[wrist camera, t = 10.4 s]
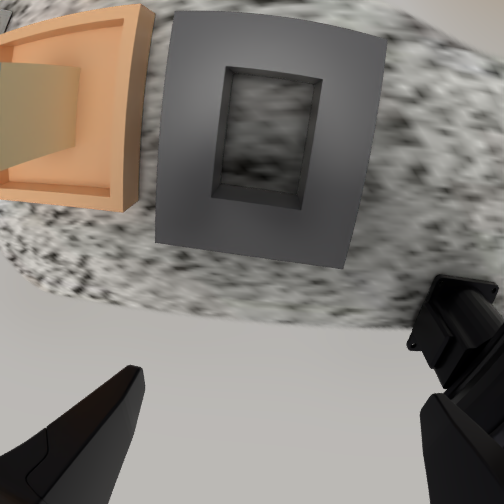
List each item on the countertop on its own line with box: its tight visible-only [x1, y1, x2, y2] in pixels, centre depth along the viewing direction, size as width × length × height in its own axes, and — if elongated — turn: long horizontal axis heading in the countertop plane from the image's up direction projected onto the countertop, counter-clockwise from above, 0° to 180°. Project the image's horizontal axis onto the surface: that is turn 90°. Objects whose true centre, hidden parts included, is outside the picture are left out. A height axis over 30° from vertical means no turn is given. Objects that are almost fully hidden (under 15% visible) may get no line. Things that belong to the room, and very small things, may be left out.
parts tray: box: [0, 4, 155, 213], centre depth 16 cm, size 12×12×2 cm
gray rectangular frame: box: [155, 11, 387, 269], centre depth 16 cm, size 10×12×3 cm
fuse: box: [0, 62, 81, 171], centre depth 12 cm, size 3×5×8 cm, turn 172°
